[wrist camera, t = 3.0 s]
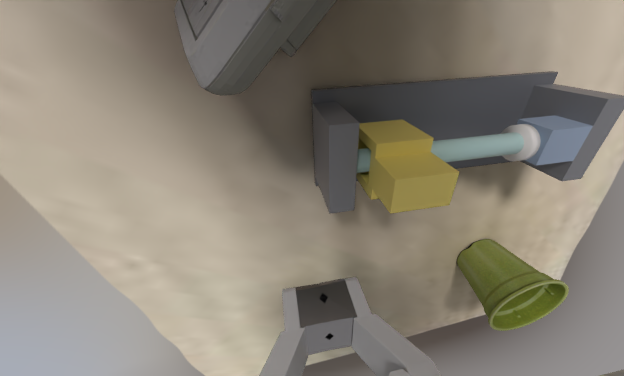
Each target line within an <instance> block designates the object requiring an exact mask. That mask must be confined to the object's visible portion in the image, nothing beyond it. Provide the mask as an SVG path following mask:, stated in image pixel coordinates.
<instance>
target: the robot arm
mask: <svg viewBox="0 0 624 376" xmlns="http://www.w3.org/2000/svg"><path fill="white" fill-rule="evenodd" d="M295 288H296V290H295ZM282 298H283V312H284V325H285V331H283V332H281V333H280V335H279V337H278V339H277V341H276V343H275V345H274V347H273V349H272V351H271V353H270V355H269V357H268V359H267V361H266V363H265V365H264V367H263V369H262V371H261V373H260V375H259V376H302V373H303V370H304V367H305V364H306V361H307V358H308V355H310V354H314V353H319V352H323V351H327V350H332V349H338V348H343V347H349V346H352V348H353V349H354V351H355V352H356V353H357V354H358V355H359V356H360V357H361V359H362V360H363V361H364V362H365V363H366V364H367V365H368V366H369V367H370V369H371V370H372V371H373V372H374V373H375V375H376V376H441V374H440V372H439V371H438V369H437V367H436V365H435V363H434V361H433V360H432V359H430V358H429V357H428V356H427V355H426V354H424V353H423V352H422V351H421V350H419V349H418V348H417V347H416V346H414V345H413V344H412V343H411V342H409V341H408V340H407V339H406V338H405V337H404V336H402V335H401V334H400V333H399V332H398V331H396V330H395V329H394V328H393V327H391V326H390V325H389V324H388V323H387V322H385V321H384V320H383V319H382V318H381V317H379V316H378V315H377V314H372V313H371V310H370V308H369V305H368V303H367V300H366V298H365V295H364V293H363V291H362V288H361V286H360V283H359V281H358V279H357V277H351V278H346V279H338V280H333V281H328V282H322V283H319V284H313V285H306V286H299V287H293V288H287V289H282ZM600 376H624V370H620V371H616V372H612V373H608V374H604V375H600Z"/></svg>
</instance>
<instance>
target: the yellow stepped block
mask: <svg viewBox="0 0 624 376" xmlns="http://www.w3.org/2000/svg"><path fill="white" fill-rule="evenodd" d="M433 139H434V138H433V137H431V136H429V135H428V134H426V133H424V132H423V131H421V130H419V129H418V128H416V127H414V126H413V125H411V124H409V123H408V122H406V121H404V120H403V119H401V120H391V121H380V122H369V123H360V124H359V140H358V149H364V148H369V149H370V150H371V158H370V168H369V172H361V173H356V178H357V180H358V181H359V183H360V184H361V186H362V187H363V189H364V190H365V192H366V193H367V195H368V196H369V198H370V199H371V200H374V199H380V200H381V202H382V203H383V204H384V206H385V207H386V208H387V210H388V211H389V213H390V214H391V213H398V212H404V211H411V210H418V209H425V208H432V207H439V206H446V205H449V204H450V201H451V198H452V195H453V192H454V188H455V185H456V182H457V179H458V176H459V171H457V170H456V169H455V168H453V167H452V166H450V165H449V164H447V163H446V162H444V161H443V160H442V159H440V158H439V157H437V156H436V155H434V154H433V153H431V148H432V144H433Z"/></svg>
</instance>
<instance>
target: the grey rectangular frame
mask: <svg viewBox="0 0 624 376" xmlns="http://www.w3.org/2000/svg"><path fill="white" fill-rule="evenodd" d="M557 74H558V72H538V73H525V74H512V75H499V76H486V77H472V78H459V79H446V80H433V81H420V82H406V83H393V84H380V85H367V86H354V87H340V88H327V89H314V90H311V96H312V121H313V146H314V172H315V184H316V186H319V187H320V190H321V193H322V195H323V198H324V201H325V203H326V206H327V208H328V211H329V214H330V213H337V212H344V211H351V210H354V205H355V189H356V181H358V180H357V178H356V173H361V172H369V168H370V158H371V150H370V149H369V148H364V149H358V140H359V124H360V123H369V122H380V121H391V120H401V119H403V120H404V121H406V122H408V123H409V124H411V125H413V126H414V127H416V128H418V129H419V130H421V131H423V132H424V133H426V134H428V135H429V136H431V137H433V138H434V139H433V144H432V148H431V153H433V154H434V155H436V156H437V157H439V158H440V159H442V160H443V161H444V162H446V163H447V164H449V165H450V166H452V167H453V168H455V169H456V168H464V167H472V166H480V165H489V164H497V163H505V162H513V161H521V162H523V163H525V164H527V165H529V166H531V167H533V168H535V169H537V170H539V171H542V172H544V173H546V174H548V175H550V176H552V177H554V178H556V179H558V180H560V181H567V180H574V179H581V178H582V176H583V174H584V173H585V171H586V170H587V168H588V166H589V165H590V163H591V161H592V160H593V158H594V156H595V155H596V153H597V152H598V150H599V148H600V147H601V145H602V143H603V142H604V140H605V139H606V137H607V135H608V134H609V132H610V130H611V129H612V127H613V126H614V124H615V122H616V121H617V119H618V117H619V116H620V114H621V113H622V111H623V109H624V96H622V95H616V94H610V93H605V92H599V91H593V90H587V89H581V88H575V87H569V86H563V85H557V84H553V83H554V81H555V78H556V76H557Z"/></svg>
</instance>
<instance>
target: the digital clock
mask: <svg viewBox="0 0 624 376" xmlns="http://www.w3.org/2000/svg"><path fill="white" fill-rule="evenodd" d="M336 1H337V0H178V1H177V3H176V6H175V10H174V12H175V17H176V20H177V24H178V28H179V32H180V36H181V40H182V44H183V48H184V51H185V54H186V56H187V59H188V61H189V64H190V66H191V68H192V71H193V73H194V75H195V77H196V79H197V81H198V83H199V85H200V86H201V87H202V88H204V89H205V90H207V91H209V92H211V93H213V94H217V95H233V94H238V93H241V92H243V91H244V90H246V89H247V88H248V87H249V86H250V85H251V84H252V82H253V81H254V80H255V79H256V77H257V76H258V75H259V73H260V72H261V71H262V70H263V68H264V67H265V66H266V65H267V63H268V62H269V61H270V60H271V58H272V57H273V56H274V55H275V53H276V52H277V51H278V49H279V48H281V49H282V50H283V51H284V52H285V53H286V54H287V55H289V56H290V57H292V56H293V55H294V53H295V52H296V51H297V49H298V48H299V47H300V46H301V44H302V43H303V42H304V41H305V39H306V38H307V37H308V36H309V34H310V33H311V32H312V31H313V29H314V28H315V27H316V26H317V24H318V23H319V22H320V21H321V19H322V18H323V17H324V16H325V14H326V13H327V12H328V11H329V9H330V8H331V7H332V6H333V4H334V3H335V2H336Z"/></svg>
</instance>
